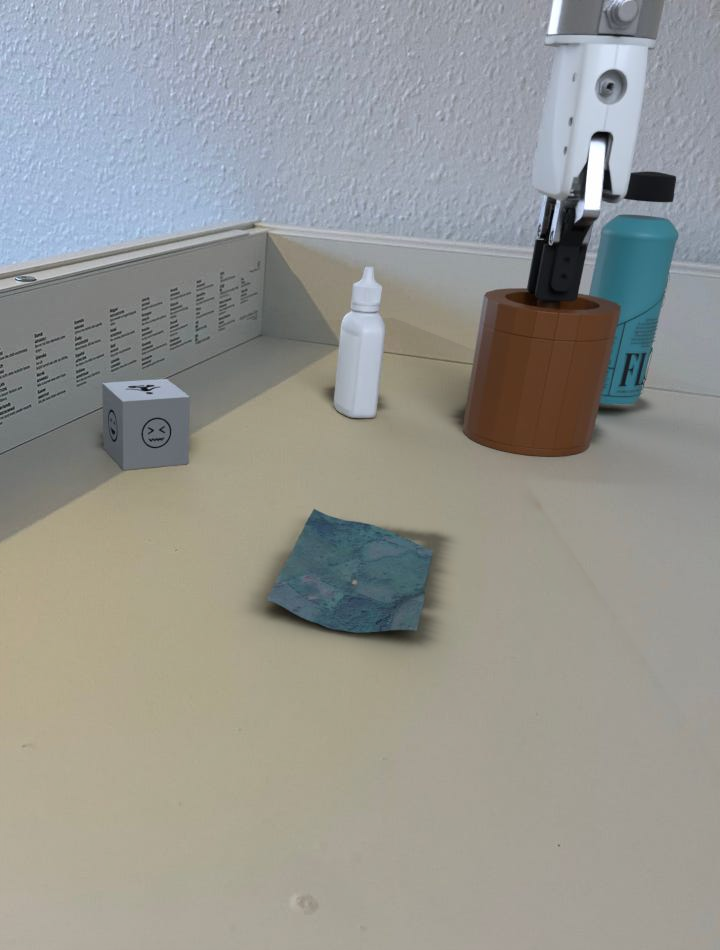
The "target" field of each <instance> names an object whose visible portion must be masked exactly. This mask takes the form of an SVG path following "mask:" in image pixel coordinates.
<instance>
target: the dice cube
mask: <svg viewBox="0 0 720 950" xmlns="http://www.w3.org/2000/svg"><path fill="white" fill-rule="evenodd" d="M101 387H102V388H101V389H102V390H101V391H102V392H101V393H102V435H103V436H102V437H103V439H102V440H103V441H102V442H103V450H104V451H105V452H106V453H107V454H108V455H109V457H110V458H111V459H112V460H113V461H114V462H116V464H117V465H118V466H119V467H120V468H121V469H122V471H130V470H140V469H150V468H159V467H171V466H181V465H189V463H190V462H189V459H190V458H189V457H190V456H189V454H190V418H191V417H190V413H191V411H190V410H191V396H189V395H188V394H187V393H186V392H184V391H183V390H182V389H180V388H179V387H178V386H177V385H176V384H174V383H173V382H172V381H170V380H169V379H167V378H160V379H159V378H158V379H141V380H127V381H125V380H124V381H112V382H101Z"/></svg>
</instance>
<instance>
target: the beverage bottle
mask: <svg viewBox="0 0 720 950" xmlns="http://www.w3.org/2000/svg"><path fill="white" fill-rule="evenodd" d="M676 184H677V176H676V175H673V174H669V173H664V172H659V171H649V170H648V171H647V170H646V171H636V172H633V171H632V172H631V175H630V180H629V185H628V190H627V194H626V195H625V197H624V198H623V199H624V200H627V201H628V200H629V201H637V202H649V203H673V202H674V198H675V191H676V190H675V189H676ZM623 199H622V200H623ZM678 239H679V231H678V230H677V228H676V227H675V225H674V224H673V222H672V221H671V220H670V219H669V218H666V217H660V216H652V215H643V214H642V215H641V214H617V215H616V216H614V217H613V218H612V219H610V220H609V221H608V222H607V223H605V224H604V225H603V226H602V227H601V230H600V239H599V243H598V248H597V253H596V257H595V263H594V268H593V272H592V276H591V277H592V278H591V283H590V287H589V291H588V295H590V296H594V297H599V298H603V299H606V300H609V301H612V302H615V303H616V304H618V305H620V306H621V312H620V316H619V320H618V325H617V329H616V333H615V338H614V342H613V347H612V351H611V355H610V360H609V364H608V369H607V373H606V377H605V382H604V386H603V390H602V395H601V399H600V404H603V405H617V406H624V405H625V406H626V405H632V404H635V403H637V402H638V400H639V398H640V396H641V395H642V394H643V392H642V391H644V386H645V382H646V381H647V377H648V373H649V368H650V364H651V360H652V359H650V358H652V356H653V354H652V353H653V351H654V350H653V349H654V348H653V344H654V342H655V341H656V339H655V338H656V335H657V332H656V331H657V330H658V327H659V325H658V324H659V322H660V321H659V320H660V314H661V310H662V308H663V306H664V301H665V298H666V296H665V295H666V293H667V288H668V283H669V282H670V278H671V276H670V270H671V265H672V262H673V258H674V253H675V248H676V244H677V241H678Z"/></svg>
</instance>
